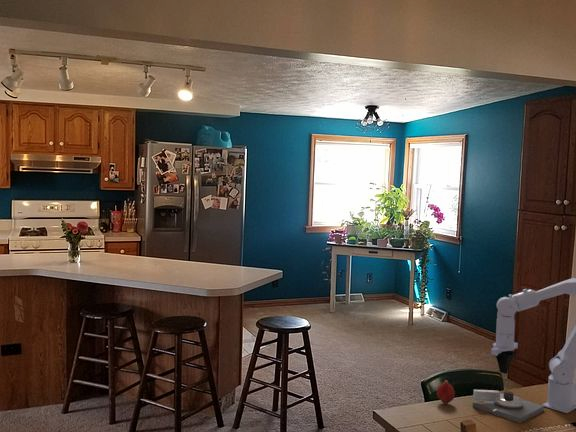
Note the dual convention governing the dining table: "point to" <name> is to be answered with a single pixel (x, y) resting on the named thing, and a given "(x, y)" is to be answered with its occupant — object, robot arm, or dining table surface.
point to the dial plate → (510, 410)
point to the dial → (499, 398)
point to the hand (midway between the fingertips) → (503, 372)
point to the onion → (445, 392)
